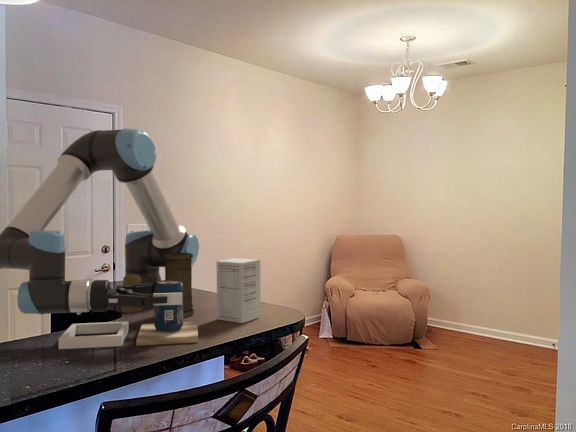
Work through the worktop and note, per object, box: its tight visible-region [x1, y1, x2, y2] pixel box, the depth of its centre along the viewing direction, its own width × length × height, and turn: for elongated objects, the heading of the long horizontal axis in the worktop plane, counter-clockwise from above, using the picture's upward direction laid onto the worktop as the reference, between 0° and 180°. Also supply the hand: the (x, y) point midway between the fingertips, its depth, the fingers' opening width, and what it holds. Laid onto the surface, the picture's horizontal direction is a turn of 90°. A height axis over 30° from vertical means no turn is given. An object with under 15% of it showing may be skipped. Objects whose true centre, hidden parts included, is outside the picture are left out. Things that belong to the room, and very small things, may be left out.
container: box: [164, 253, 195, 318], centre depth 140 cm, size 9×9×18 cm
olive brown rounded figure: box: [121, 274, 143, 314], centre depth 145 cm, size 6×6×11 cm
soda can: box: [153, 279, 184, 333], centre depth 117 cm, size 7×7×12 cm
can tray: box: [58, 320, 130, 350], centre depth 114 cm, size 13×13×2 cm
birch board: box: [136, 321, 199, 346], centre depth 118 cm, size 14×14×2 cm
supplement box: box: [216, 257, 262, 324], centre depth 136 cm, size 10×9×17 cm
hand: (182, 293), depth 118 cm, fingers open, 13 cm apart
